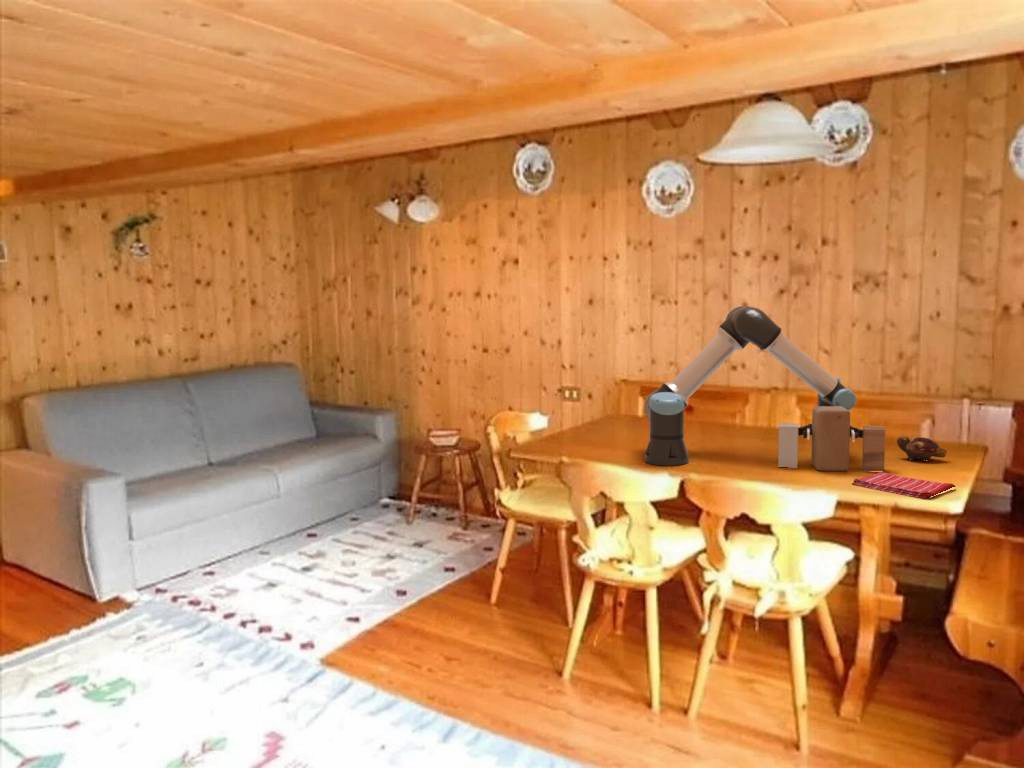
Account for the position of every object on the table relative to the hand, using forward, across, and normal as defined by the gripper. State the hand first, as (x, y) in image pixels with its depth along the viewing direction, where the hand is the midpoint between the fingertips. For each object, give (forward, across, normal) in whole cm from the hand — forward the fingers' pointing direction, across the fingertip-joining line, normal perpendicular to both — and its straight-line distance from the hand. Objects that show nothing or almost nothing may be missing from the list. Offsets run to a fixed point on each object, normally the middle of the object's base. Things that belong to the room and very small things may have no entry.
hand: (830, 437), depth 262 cm
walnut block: (-3, -13, -11) cm, 17 cm away
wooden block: (-3, 0, -11) cm, 12 cm away
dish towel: (+17, -20, -12) cm, 29 cm away
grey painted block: (-3, +13, -11) cm, 17 cm away
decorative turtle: (-22, -29, -11) cm, 38 cm away
